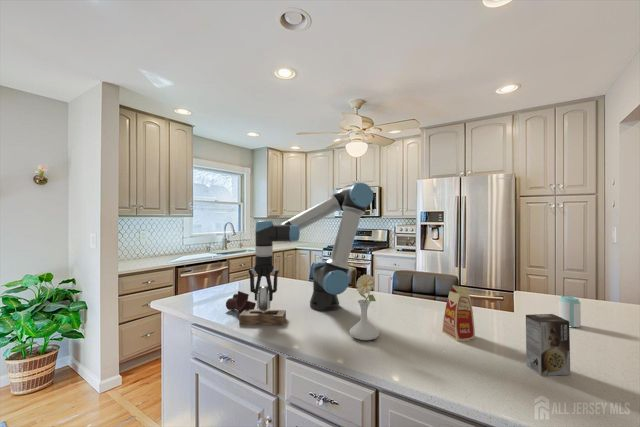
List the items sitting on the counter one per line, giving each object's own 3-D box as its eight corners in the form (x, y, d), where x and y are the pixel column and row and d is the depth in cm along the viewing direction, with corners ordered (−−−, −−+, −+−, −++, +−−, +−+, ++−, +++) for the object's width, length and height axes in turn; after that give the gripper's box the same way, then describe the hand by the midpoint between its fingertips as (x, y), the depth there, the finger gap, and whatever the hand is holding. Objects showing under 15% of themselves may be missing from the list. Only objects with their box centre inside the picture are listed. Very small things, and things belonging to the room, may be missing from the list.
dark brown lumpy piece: (245, 311, 132) (250, 289, 137) (222, 313, 141) (228, 292, 146) (255, 314, 136) (259, 292, 141) (233, 315, 146) (237, 295, 150)
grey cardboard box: (553, 364, 92) (552, 313, 93) (571, 375, 86) (570, 320, 86) (524, 365, 92) (524, 313, 92) (541, 376, 86) (540, 321, 86)
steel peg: (269, 316, 132) (269, 285, 132) (267, 319, 128) (267, 287, 128) (260, 316, 132) (260, 285, 132) (258, 319, 128) (258, 287, 128)
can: (557, 321, 130) (557, 294, 130) (578, 324, 126) (578, 296, 127) (560, 326, 124) (560, 298, 124) (582, 329, 120) (582, 300, 120)
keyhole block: (285, 318, 133) (285, 309, 133) (282, 325, 125) (282, 316, 125) (244, 318, 134) (244, 309, 134) (239, 324, 126) (239, 315, 126)
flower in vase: (344, 333, 117) (344, 270, 117) (369, 329, 121) (369, 269, 121) (360, 347, 104) (360, 277, 105) (387, 342, 108) (387, 275, 109)
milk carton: (457, 341, 109) (457, 288, 109) (441, 332, 118) (440, 282, 118) (477, 338, 112) (477, 286, 112) (459, 329, 120) (459, 281, 121)
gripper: (284, 254, 133) (284, 305, 133) (247, 254, 134) (247, 305, 134) (281, 256, 126) (281, 311, 125) (242, 256, 126) (242, 310, 126)
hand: (263, 307), depth 130 cm, fingers closed on steel peg, 4 cm apart
